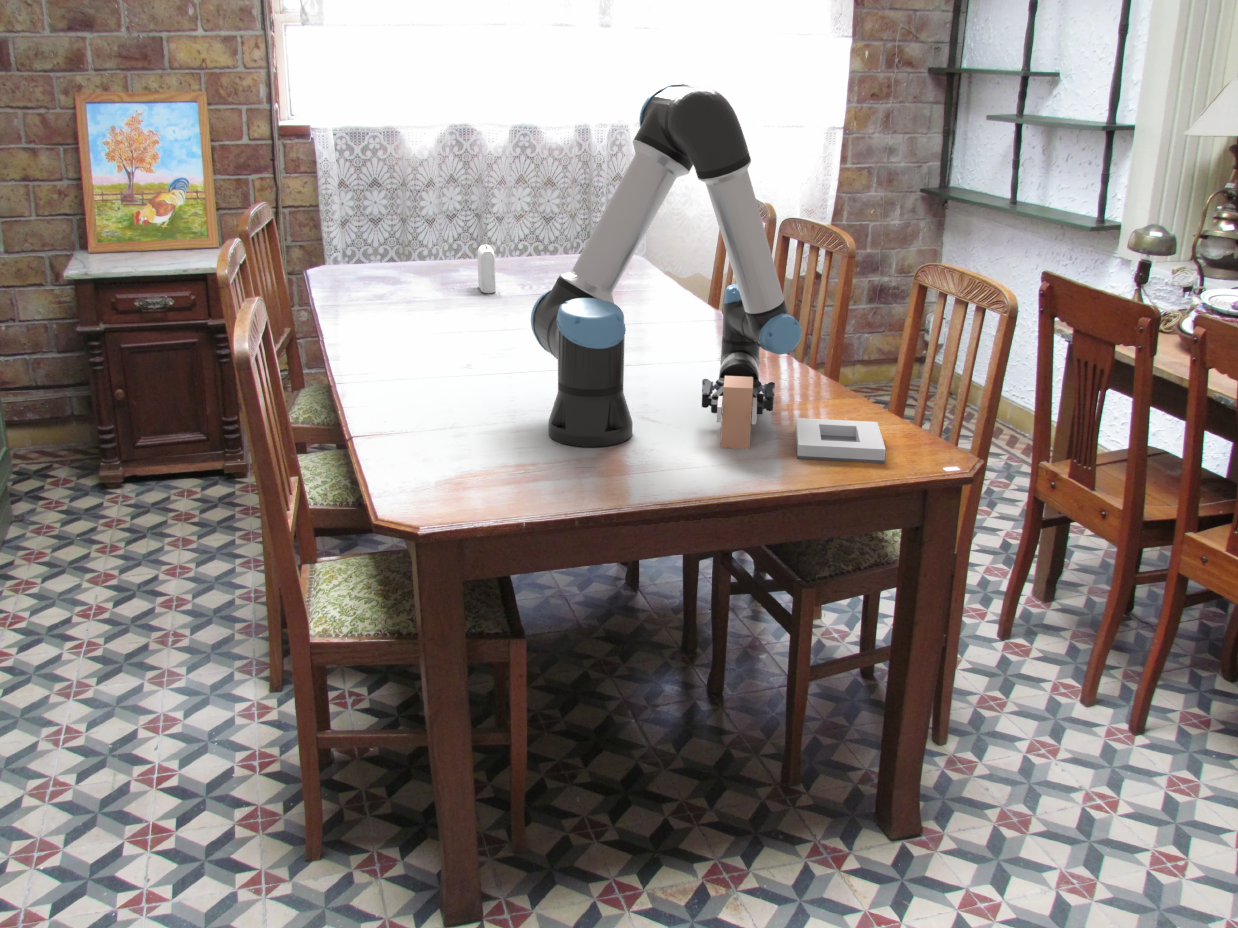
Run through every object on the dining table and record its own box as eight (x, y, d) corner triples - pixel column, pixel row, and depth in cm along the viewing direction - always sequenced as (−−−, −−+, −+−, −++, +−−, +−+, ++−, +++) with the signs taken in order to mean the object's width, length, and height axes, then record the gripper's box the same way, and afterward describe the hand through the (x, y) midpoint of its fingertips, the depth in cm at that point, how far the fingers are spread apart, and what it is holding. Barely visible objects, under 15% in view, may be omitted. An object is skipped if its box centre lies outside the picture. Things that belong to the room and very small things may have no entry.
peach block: (720, 447, 199) (723, 387, 196) (721, 434, 206) (724, 375, 202) (749, 448, 199) (752, 388, 195) (749, 435, 205) (753, 377, 202)
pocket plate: (797, 458, 195) (798, 444, 194) (794, 430, 208) (795, 417, 207) (884, 463, 193) (885, 449, 192) (876, 435, 207) (877, 421, 206)
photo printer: (477, 286, 321) (476, 242, 316) (492, 285, 322) (491, 241, 317) (481, 294, 311) (479, 248, 307) (496, 293, 312) (495, 248, 308)
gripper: (786, 398, 217) (789, 439, 196) (690, 394, 219) (682, 433, 197) (788, 360, 215) (792, 397, 193) (691, 356, 216) (684, 392, 195)
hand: (736, 415), depth 195 cm, fingers open, 5 cm apart
